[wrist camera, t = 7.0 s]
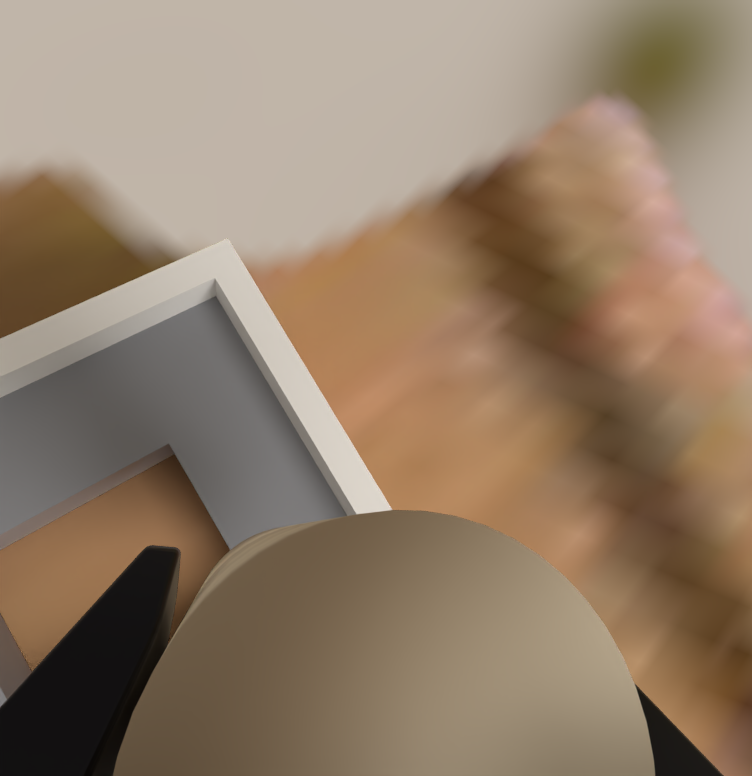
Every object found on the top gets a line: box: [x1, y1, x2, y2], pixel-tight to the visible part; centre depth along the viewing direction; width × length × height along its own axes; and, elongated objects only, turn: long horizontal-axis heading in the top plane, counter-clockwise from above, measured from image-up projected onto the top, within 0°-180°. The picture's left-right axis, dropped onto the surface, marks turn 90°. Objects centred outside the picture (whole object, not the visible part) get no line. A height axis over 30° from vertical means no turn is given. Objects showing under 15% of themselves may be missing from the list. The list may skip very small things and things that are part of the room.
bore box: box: [0, 238, 392, 707], centre depth 18 cm, size 16×16×4 cm
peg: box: [113, 510, 655, 776], centre depth 9 cm, size 4×4×10 cm
